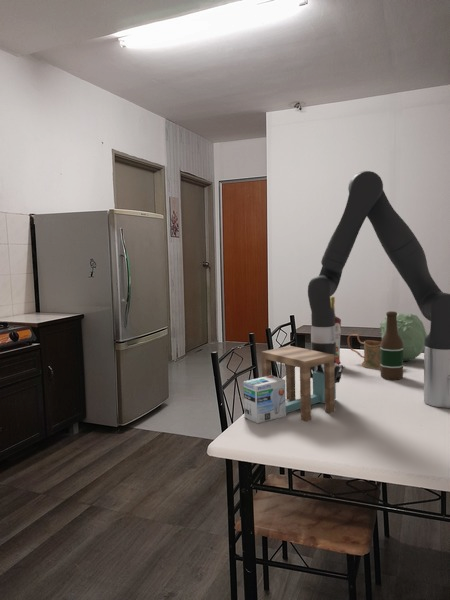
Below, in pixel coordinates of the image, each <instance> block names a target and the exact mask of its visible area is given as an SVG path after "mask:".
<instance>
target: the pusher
mask: <svg viewBox="0 0 450 600" xmlns="http://www.w3.org/2000/svg"><path fill="white" fill-rule="evenodd" d="M312 374H313V378H312V394H311V406H312V405H315V404H317V403H321V404H325V376H324V373H323V372H320V371H317V372H316V371H314V372H312ZM336 384H337V383H335V400H336V398H337V394H336V390H337V388H336V387H337V385H336ZM299 409H300V410H301V401H300V398H298V399H294V400H290V401H289V402H286V414H287V413H290V412H293V411H296V410H299Z"/></svg>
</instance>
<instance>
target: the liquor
mask: <svg viewBox="0 0 450 600" xmlns="http://www.w3.org/2000/svg"><path fill="white" fill-rule="evenodd" d="M335 300H336V297H335V296H330V302H331V307H332V308H333V309H334V314H335V332H336V355H335V361H336V363H337V364H338V365H341V363H342V362H341V360H340V358H341V356H340V354H341V352H340V351H341V332H342V331H341V330H342V329H341V328H342V327H341V326H342V320H341V319H340V317H338V316H336V309H335V302H336V301H335Z"/></svg>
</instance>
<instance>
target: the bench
mask: <svg viewBox="0 0 450 600" xmlns="http://www.w3.org/2000/svg"><path fill="white" fill-rule="evenodd" d="M272 362H277V363H281V364H284V365H285V398H286V400H288V401H294V400H296V368H299V387H300V389H299V390H300V392H299V394H300V398H299V399H300V401H301V408H300V421H303V422H310V421H312V405H311V395H312V394H311V390H312V389H311V386H312V385H311V378H310V367H314V366H318V365H322V364H324V376H325V403H324V412H325V413H328V414H333V413H335V412H336V402H335V401H336V399H335V378H334V354H329V353H324V352H319V351H314V350H311V349H309V348H308V349H307V348H302V347H299V346H293V345H287V346H281V347H277V348H273V349H267V350H263V351H261V377H266V376H270V375H272Z"/></svg>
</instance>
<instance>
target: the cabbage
mask: <svg viewBox="0 0 450 600" xmlns="http://www.w3.org/2000/svg"><path fill="white" fill-rule="evenodd" d="M396 317H397V331H398V335H399V336H400V338H401V339H402V342H403V362H405V361H407V362H408V361H412V360H415V359H416V358H417V357H419V356H420V355H421V354H422V353H423V352H424V340H425V337H426V336H427V335H428V334H427V331H426V329H425V325H424V322H423V321H422V320H421V319H420V318H419V316H418V315H417V314H412V313H411V314H410V313H409V314H405V313H401V312H397V316H396ZM386 325H387V316H386V317H385V318H384V321H383V322H380V324H379V329H380V330H381V331H380V332H379V334H381V339H382V338H383V337H384V335H385V333H386Z"/></svg>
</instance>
